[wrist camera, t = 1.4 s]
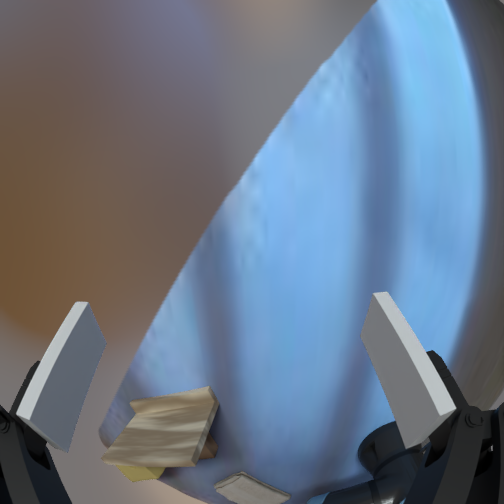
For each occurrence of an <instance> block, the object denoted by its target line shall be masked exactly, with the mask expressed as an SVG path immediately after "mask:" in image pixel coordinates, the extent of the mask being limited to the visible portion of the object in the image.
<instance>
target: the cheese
mask: <svg viewBox="0 0 504 504" xmlns="http://www.w3.org/2000/svg"><path fill="white" fill-rule="evenodd" d="M116 439H117V438H116ZM116 466H117V467H118V469H119V470H120V471H121V472H122V473H123V474H124V475H125V476H126V477H127V478H128V479H129V480H131V481H132V482H136V481H141V480H149V479H159V477H160V476H161V475H162V473H163V472H164V470H165V468H166V467H140V466H124V465H116Z"/></svg>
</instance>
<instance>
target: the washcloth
mask: <svg viewBox="0 0 504 504" xmlns="http://www.w3.org/2000/svg"><path fill="white" fill-rule="evenodd" d="M214 488H216V489H217V490H216V492H218V493H220V494H222V495H224V496H225V497H226V498H227V499H228V500H230V501H233V502H236V503H238V504H280V503H283V502H284V501H287V500H288V499H290V498H291V495H290V494H287V493H285V492H283V491H281V490H279V489H277V488H274V487H272V486H270V485H268V484H266V483H263V482H261V481H259V480H257V479H255V478H253V477H252V476H250V475H248V474H246V473H245V472H243V471H241V472H240V473H236V474H233V475H231V476H229V477H227V478H226V479H224V480H221V481H219V482H217V483H216V484H214Z"/></svg>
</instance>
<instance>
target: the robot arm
mask: <svg viewBox="0 0 504 504" xmlns="http://www.w3.org/2000/svg"><path fill="white" fill-rule="evenodd" d="M360 337H361V339H362V341H363V343H364V346H365V348H366V350H367V352H368V355H369V357H370V359H371V362H372V364H373V366H374V368H375V371H376V373H377V376H378V378H379V380H380V383H381V385H382V388H383V390H384V392H385V395H386V397H387V400H388V402H389V405H390V407H391V410H392V413H393V415H394V418H395V420H396V421H394V422H391V423H388V424H386V425H383V426H381V427H380V428H378V429H376V430H375V431H373V432H372V433H371V434H369V435H368V436H367V437H366V438H365V439H364V440H363V442H362V443H361V445H360V447H359V450H358V456H359V459H360V462H361V464H362V465H363V466H364V467H365V468H366V469H367V470H368V471H369V473H370V474H371V475H372V476H373V478H374V480H371V481H368V482H365V483H361V484H358V485H355V486H352V487H348V488H345V489H341V490H337V491H333V492H327V493H325V494H322V495H318V496H314V497H312V498H310V499H309V500H308V501H307V503H306V504H504V402H503V403H502V404H501V405H500V406H499V407H498V408H497V409H496V410H489V411H481V410H480V409H479V408H477V407H475V406H469V405H468V403H467V402H466V400H465V398H464V396H463V394H462V392H461V391H460V389H459V387H458V385H457V383H456V382H455V380H454V378H453V376H451V373H450V371H449V369H447V366H446V364H445V363H444V361H443V359H442V358H441V357H440V356H439V355H438V354H437V353H435V352H434V351H433V350H432V351H428V352H425V350H424V348H423V347H422V345H421V343H420V342H419V340H418V338H417V337H416V335H415V334H414V332H413V330H412V329H411V327H410V326H409V324H408V322H407V321H406V319H405V318H404V316H403V315H402V313H401V312H400V310H399V309H398V307H397V306H396V304H395V303H394V301H393V300H392V298H391V297H390V295H389V294H388V292H380V293H373V295H372V299H371V302H370V306H369V309H368V313H367V316H366V319H365V322H364V326H363V329H362V332H361V335H360ZM106 344H107V343H106V341H105V339H104V337H103V334H102V333H101V330H100V328H99V326H98V324H97V322H96V319H95V317H94V315H93V312H92V310H91V308H90V305H89V303H88V302H76V303H75V304H74V306H73V307H72V309H71V311H70V312H69V314H68V315H67V317H66V319H65V320H64V322H63V324H62V325H61V327H60V329H59V330H58V332H57V334H56V335H55V337H54V339H53V340H52V342H51V344H50V346H49V347H48V350H47V351H46V353H45V355H44V357H43V358H42V360H41V361H37V362H36V363H35V364H34V365H33V366H32V367H31V368H30V370H29V372H28V374H27V376H26V379H25V380H24V382H23V384H22V385H23V386H21V388H20V390H19V392H18V394H17V396H16V399H15V401H14V403H13V405H12V408H11V410H10V412H9V413H8V412H7V411H6V410H5V409H4V408H3V407H2V406H1V405H0V504H72V502H71V500H70V498H69V496H68V494H67V492H66V490H65V488H64V486H63V484H62V482H61V479H60V477H59V474H58V472H57V470H56V467H55V465H54V462H53V460H52V457H51V454H50V452H49V450H48V448H47V447H46V443H47V442H48V443H49V444H51V445H52V446H53V447H54V448H56V449H59V450H62V451H65V452H67V453H68V451H69V447H70V444H71V440H72V437H73V434H74V430H75V427H76V424H77V421H78V418H79V415H80V412H81V409H82V406H83V403H84V400H85V397H86V395H87V392H88V389H89V386H90V383H91V381H92V378H93V376H94V373H95V371H96V368H97V365H98V363H99V361H100V358H101V356H102V353H103V351H104V348H105V346H106ZM427 437H429V439H430V442H429V443H428V444H427V445H425V446H424V447H423V448H422V447H421V443H422V442H423V441H424V440H425V439H426V438H427ZM492 445H493V451H491V446H492ZM425 450H426V451H425ZM424 451H425V454H423V452H424Z"/></svg>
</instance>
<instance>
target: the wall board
mask: <svg viewBox="0 0 504 504" xmlns="http://www.w3.org/2000/svg"><path fill="white" fill-rule="evenodd" d="M130 405H131V406H132V408H133V410H134V411H135V413H136V415H135V416H134V417H133V418H132V420H131V421H130V422H129V424H128V425H127V426H126V427H125V429H124V430H123V431H122V432H121V434H120V435H119V436H118V437H117V439H116V440H115V441H114V442H113V444H112V445H111V446H110V448H109V449H108V450H107V452H106V453H105V454H104V455H103V457H102V458H101V459H102V460H103V461H104V462H105V463H106V464H113V465H124V466H140V467H188V466H196V464H197V461H198V459H208V458H215V455H216V452H217V449H218V445H217V444H216V442H215V441H214V439H213V438H212V436H211V435H210V433H209V430H210V427H211V424H212V422H213V419H214V416H215V414H216V411H217V408H218V405H219V402H218V400H217V398H216V396H215V395H214V393H213V391H212V389H211V387H210V386H207V387H203V388H198V389H194V390H189V391H184V392H179V393H174V394H168V395H162V396H156V397H150V398H144V399H137V400H132V401H131V402H130Z"/></svg>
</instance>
